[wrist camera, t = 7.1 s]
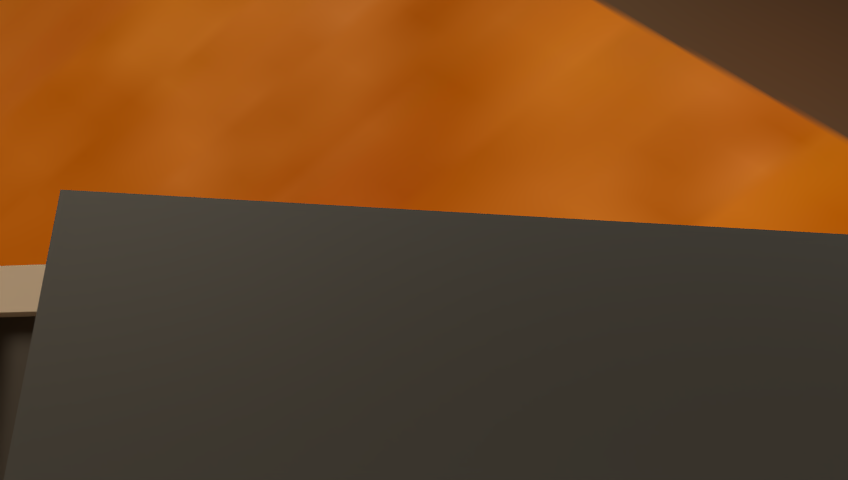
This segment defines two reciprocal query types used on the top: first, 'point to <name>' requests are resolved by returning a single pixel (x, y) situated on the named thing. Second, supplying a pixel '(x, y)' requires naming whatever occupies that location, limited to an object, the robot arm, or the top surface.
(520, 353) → the slate block
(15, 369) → the board
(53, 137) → the top surface
